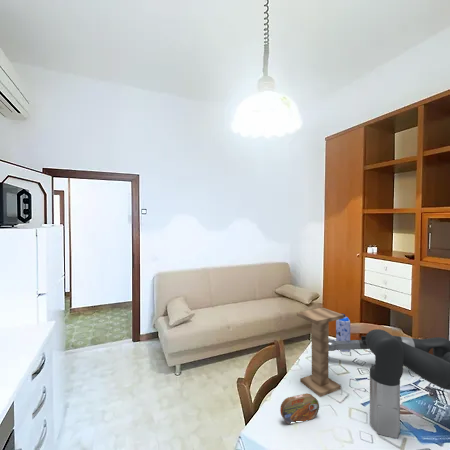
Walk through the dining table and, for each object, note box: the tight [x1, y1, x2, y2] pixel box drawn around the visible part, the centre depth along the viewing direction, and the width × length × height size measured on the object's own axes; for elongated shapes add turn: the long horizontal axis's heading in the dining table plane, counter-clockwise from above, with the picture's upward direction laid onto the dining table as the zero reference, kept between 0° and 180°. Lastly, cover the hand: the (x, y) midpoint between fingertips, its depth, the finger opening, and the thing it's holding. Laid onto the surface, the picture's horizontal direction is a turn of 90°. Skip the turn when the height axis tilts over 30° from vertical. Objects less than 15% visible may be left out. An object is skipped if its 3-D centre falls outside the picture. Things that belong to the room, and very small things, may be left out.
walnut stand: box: [296, 307, 344, 398], centre depth 120 cm, size 16×12×32 cm
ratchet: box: [329, 337, 370, 352], centre depth 137 cm, size 24×6×5 cm, turn 72°
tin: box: [279, 392, 320, 425], centre depth 99 cm, size 15×3×8 cm, turn 106°
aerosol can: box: [335, 313, 351, 353], centre depth 155 cm, size 8×8×20 cm
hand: (362, 340), depth 135 cm, fingers open, 4 cm apart
